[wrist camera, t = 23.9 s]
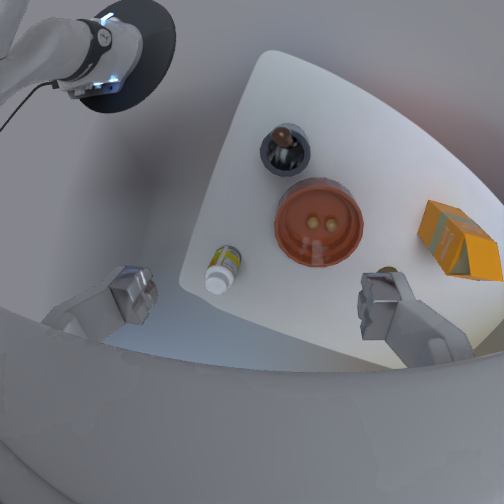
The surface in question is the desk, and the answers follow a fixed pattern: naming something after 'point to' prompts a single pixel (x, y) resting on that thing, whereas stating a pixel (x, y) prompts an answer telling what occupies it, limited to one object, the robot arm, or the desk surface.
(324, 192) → the bowl
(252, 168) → the desk surface
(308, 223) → the bead
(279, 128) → the stir paddle
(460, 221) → the orange juice
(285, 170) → the crock
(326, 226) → the bead
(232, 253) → the supplement bottle
